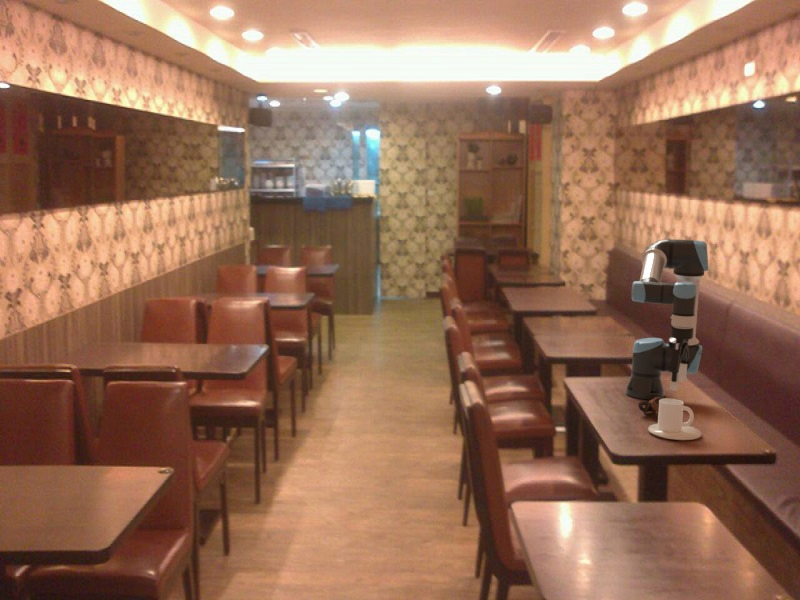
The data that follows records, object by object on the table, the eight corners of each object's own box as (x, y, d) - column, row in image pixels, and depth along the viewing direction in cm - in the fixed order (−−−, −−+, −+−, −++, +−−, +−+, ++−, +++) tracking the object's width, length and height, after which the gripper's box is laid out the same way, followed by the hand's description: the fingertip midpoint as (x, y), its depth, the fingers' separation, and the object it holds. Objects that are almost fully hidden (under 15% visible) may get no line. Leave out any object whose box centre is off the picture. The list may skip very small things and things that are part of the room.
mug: (692, 428, 331) (694, 400, 329) (693, 435, 323) (695, 406, 321) (657, 425, 334) (659, 397, 332) (657, 431, 326) (659, 403, 324)
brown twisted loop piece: (661, 413, 356) (671, 397, 351) (665, 430, 348) (675, 415, 343) (632, 405, 354) (641, 390, 349) (636, 422, 346) (645, 407, 342)
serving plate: (654, 423, 340) (654, 420, 340) (705, 431, 332) (705, 428, 332) (642, 436, 324) (643, 433, 324) (695, 444, 316) (695, 441, 316)
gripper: (678, 319, 334) (674, 376, 338) (663, 331, 313) (659, 392, 316) (700, 321, 331) (695, 379, 335) (686, 334, 309) (681, 395, 313)
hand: (677, 386), depth 325 cm, fingers open, 13 cm apart
